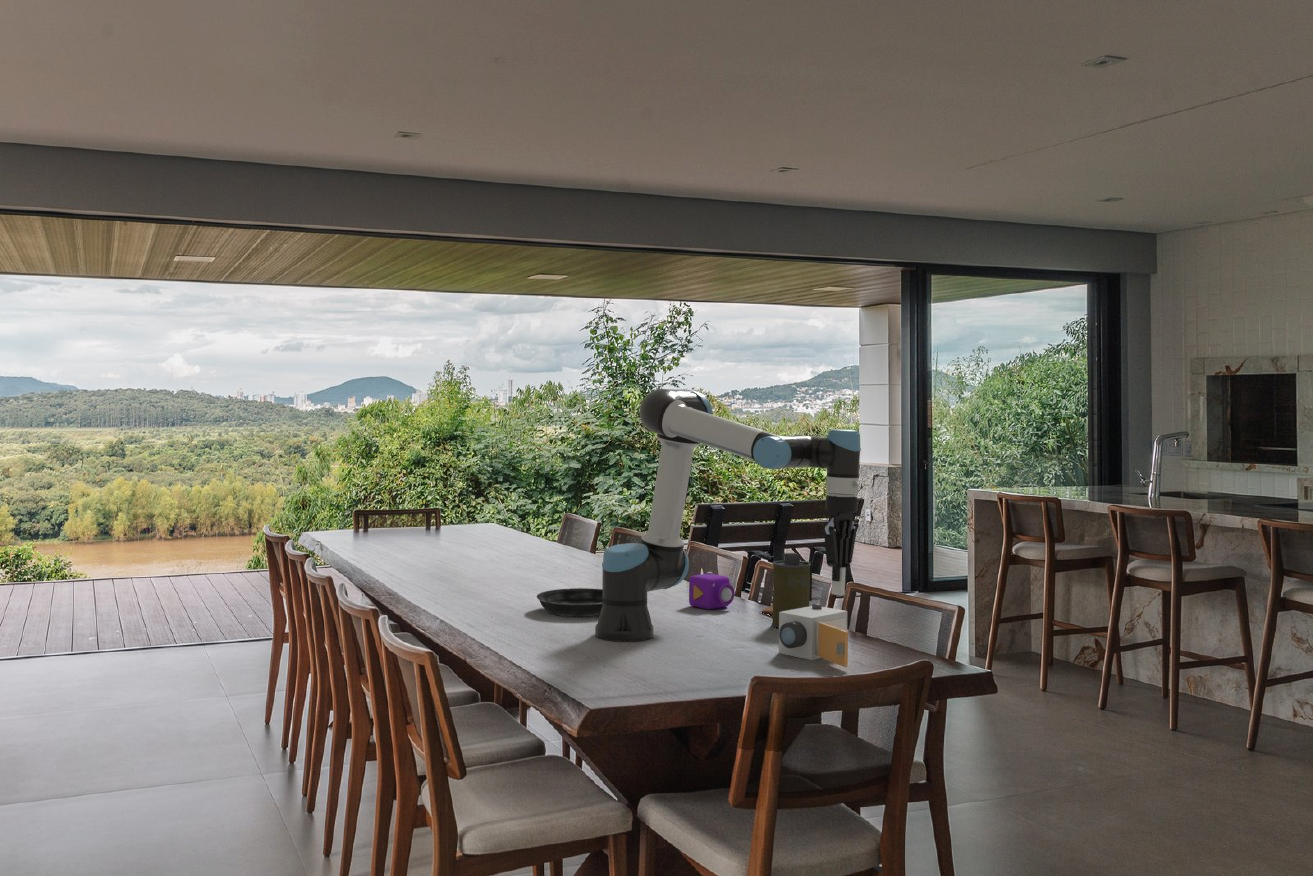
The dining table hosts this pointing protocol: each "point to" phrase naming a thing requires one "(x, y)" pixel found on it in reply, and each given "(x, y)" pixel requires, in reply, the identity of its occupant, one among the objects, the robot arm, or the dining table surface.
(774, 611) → the canister
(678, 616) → the dining table surface
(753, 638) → the dining table surface
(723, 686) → the dining table surface
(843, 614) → the camera body
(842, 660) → the battery door
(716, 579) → the toy camera
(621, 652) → the dining table surface
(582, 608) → the frying pan
